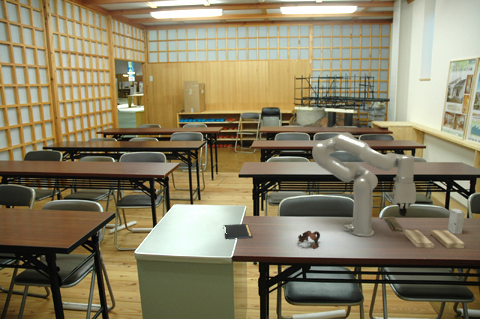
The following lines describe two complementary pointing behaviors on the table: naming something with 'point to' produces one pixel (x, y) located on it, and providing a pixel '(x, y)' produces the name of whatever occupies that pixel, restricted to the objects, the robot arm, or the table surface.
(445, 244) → the laid board
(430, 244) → the plank
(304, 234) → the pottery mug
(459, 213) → the skincare box
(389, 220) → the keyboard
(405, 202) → the robot arm
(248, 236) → the wallet
